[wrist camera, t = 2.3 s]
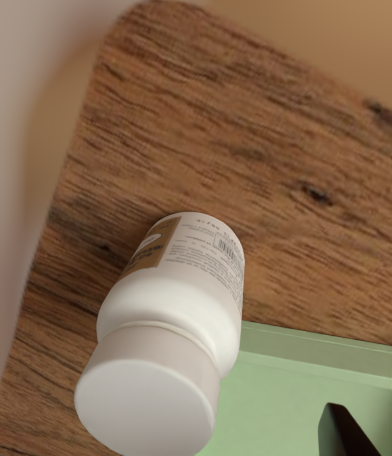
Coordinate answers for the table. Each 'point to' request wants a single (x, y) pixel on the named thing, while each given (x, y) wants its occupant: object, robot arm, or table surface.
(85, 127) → the table surface
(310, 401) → the sage tray
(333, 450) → the robot arm
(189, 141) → the table surface
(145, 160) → the table surface
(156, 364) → the pill bottle
